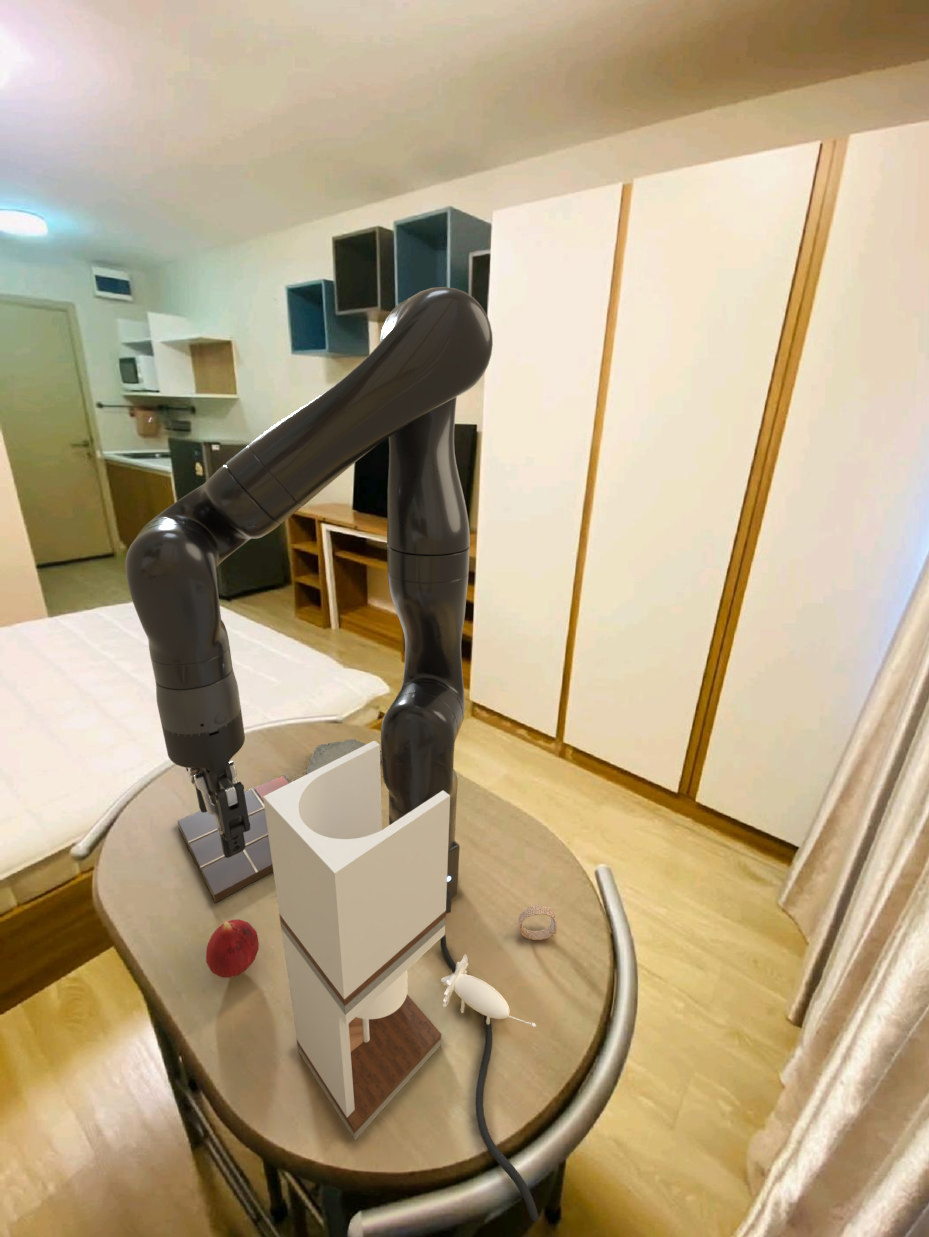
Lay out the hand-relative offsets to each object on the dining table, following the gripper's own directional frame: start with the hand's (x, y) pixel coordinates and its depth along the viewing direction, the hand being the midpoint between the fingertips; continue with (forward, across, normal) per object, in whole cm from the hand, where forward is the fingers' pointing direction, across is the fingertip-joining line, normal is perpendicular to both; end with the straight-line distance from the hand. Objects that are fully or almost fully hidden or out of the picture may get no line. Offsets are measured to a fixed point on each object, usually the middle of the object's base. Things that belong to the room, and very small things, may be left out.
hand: (222, 829), depth 60 cm
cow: (+19, +27, +19) cm, 38 cm away
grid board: (+19, -17, +8) cm, 27 cm away
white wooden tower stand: (+19, +21, +6) cm, 29 cm away
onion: (+19, +3, -2) cm, 19 cm away
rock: (+19, -21, +27) cm, 39 cm away
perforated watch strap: (+19, +24, +30) cm, 43 cm away
